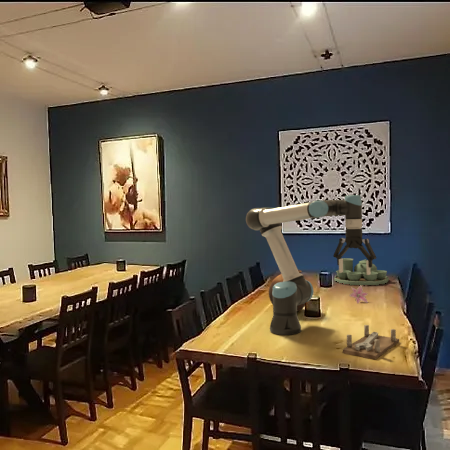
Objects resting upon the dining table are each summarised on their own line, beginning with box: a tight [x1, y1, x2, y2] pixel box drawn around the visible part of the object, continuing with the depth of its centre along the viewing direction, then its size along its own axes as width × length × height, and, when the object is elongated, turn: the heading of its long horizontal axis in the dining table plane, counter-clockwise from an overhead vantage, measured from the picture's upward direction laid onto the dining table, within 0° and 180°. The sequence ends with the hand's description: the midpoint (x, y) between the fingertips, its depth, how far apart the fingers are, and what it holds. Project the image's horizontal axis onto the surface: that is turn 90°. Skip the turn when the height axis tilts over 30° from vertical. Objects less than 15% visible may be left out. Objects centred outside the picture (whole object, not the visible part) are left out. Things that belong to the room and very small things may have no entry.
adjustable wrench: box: [355, 331, 379, 351], centre depth 198 cm, size 25×6×2 cm, turn 144°
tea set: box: [333, 257, 390, 286], centre depth 353 cm, size 40×40×16 cm
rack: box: [341, 324, 400, 360], centre depth 197 cm, size 14×27×6 cm, turn 140°
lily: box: [349, 285, 369, 304], centre depth 284 cm, size 12×12×10 cm
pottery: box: [268, 269, 306, 312], centre depth 265 cm, size 23×23×25 cm
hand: (354, 273), depth 216 cm, fingers open, 13 cm apart
